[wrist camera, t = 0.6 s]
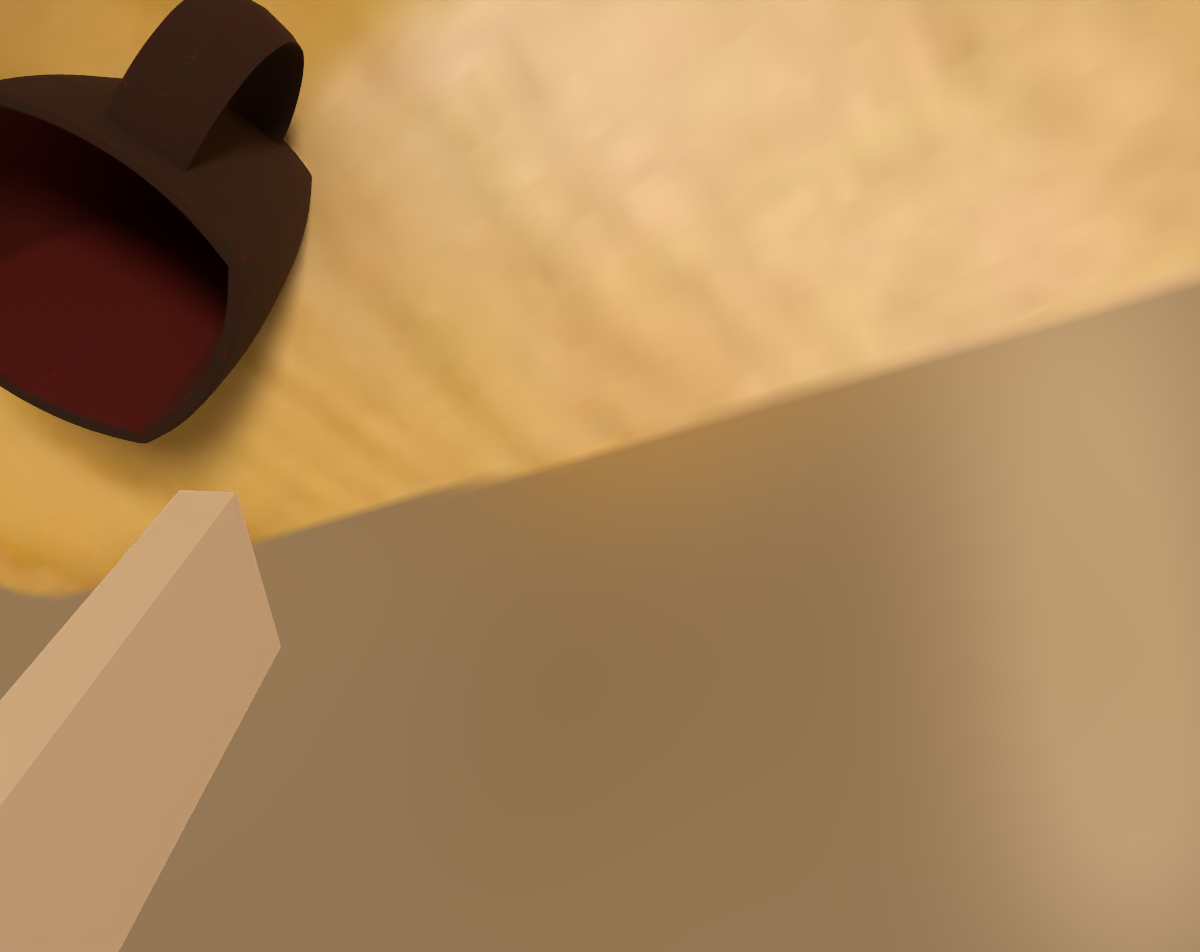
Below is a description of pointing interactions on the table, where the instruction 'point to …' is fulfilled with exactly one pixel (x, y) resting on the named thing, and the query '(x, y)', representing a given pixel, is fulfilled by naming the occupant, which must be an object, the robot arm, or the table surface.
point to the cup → (149, 220)
